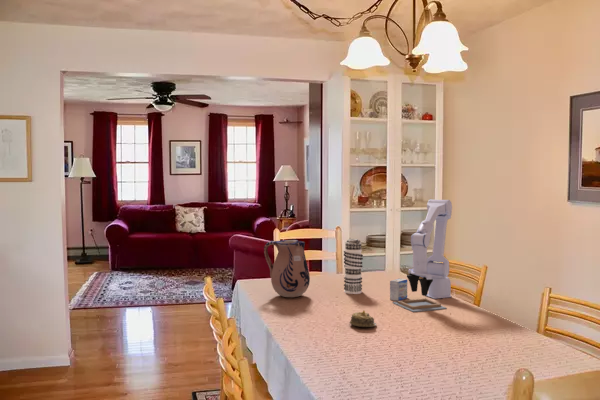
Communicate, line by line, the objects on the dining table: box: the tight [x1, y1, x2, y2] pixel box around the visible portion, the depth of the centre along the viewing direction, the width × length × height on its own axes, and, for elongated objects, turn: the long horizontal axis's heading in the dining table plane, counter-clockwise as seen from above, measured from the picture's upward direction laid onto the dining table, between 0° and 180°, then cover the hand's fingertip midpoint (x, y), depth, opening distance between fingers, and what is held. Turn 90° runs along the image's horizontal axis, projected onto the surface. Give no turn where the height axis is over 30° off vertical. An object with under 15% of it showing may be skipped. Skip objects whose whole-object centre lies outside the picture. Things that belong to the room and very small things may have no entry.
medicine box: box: [389, 278, 408, 302], centre depth 231 cm, size 8×4×9 cm, turn 138°
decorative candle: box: [343, 238, 364, 295], centre depth 245 cm, size 9×9×25 cm
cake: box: [349, 310, 377, 328], centre depth 192 cm, size 10×10×5 cm
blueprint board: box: [392, 298, 448, 313], centre depth 219 cm, size 16×16×2 cm
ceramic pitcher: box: [263, 239, 311, 298], centre depth 237 cm, size 18×21×25 cm
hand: (419, 293), depth 219 cm, fingers open, 7 cm apart
